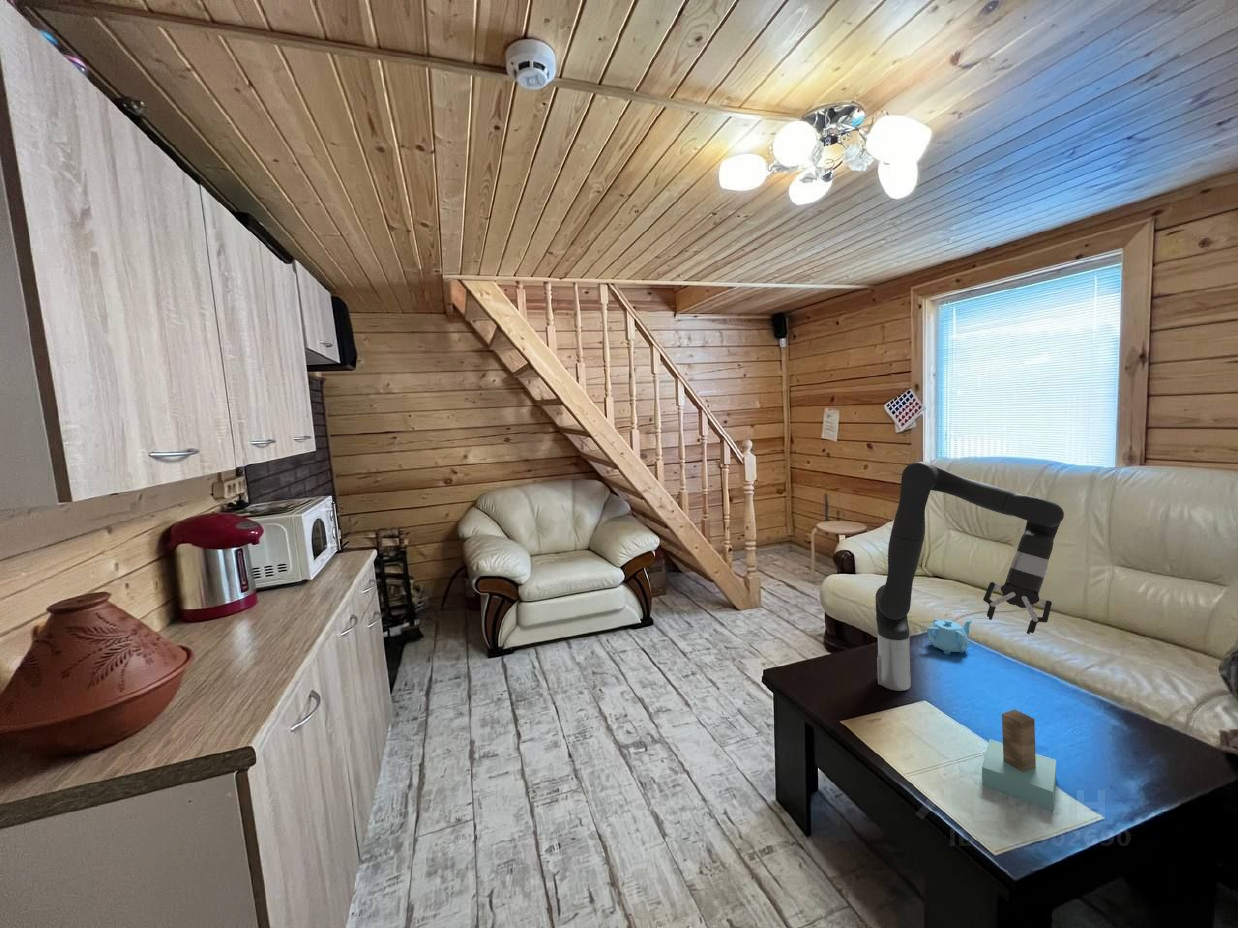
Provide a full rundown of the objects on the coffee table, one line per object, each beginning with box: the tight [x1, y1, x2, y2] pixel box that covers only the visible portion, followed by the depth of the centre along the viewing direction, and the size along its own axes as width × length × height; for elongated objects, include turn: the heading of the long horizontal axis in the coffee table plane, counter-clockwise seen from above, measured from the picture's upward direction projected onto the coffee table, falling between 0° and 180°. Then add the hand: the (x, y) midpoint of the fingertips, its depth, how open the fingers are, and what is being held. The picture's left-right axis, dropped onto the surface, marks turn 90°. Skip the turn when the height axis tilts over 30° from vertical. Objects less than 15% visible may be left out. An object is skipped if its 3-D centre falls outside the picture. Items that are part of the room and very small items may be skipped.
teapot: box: [926, 618, 974, 655], centre depth 185 cm, size 13×14×11 cm
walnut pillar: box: [1001, 708, 1036, 772], centre depth 119 cm, size 4×4×12 cm
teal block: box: [981, 739, 1057, 812], centre depth 120 cm, size 13×13×5 cm
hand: (1008, 626), depth 137 cm, fingers open, 8 cm apart
